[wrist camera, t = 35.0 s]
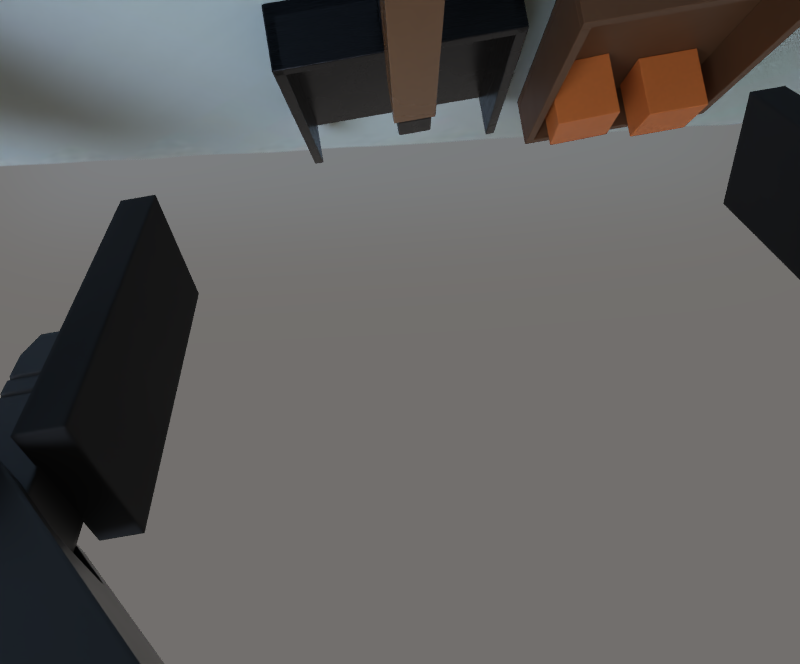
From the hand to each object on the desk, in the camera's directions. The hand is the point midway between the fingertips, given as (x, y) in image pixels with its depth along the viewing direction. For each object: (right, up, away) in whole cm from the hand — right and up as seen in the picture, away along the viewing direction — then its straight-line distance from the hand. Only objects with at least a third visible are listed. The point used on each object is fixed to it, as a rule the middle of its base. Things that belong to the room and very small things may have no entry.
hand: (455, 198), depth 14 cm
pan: (-2, +15, +17) cm, 23 cm away
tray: (+15, +17, +27) cm, 35 cm away
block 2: (+18, +15, +30) cm, 38 cm away
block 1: (+11, +14, +29) cm, 34 cm away
